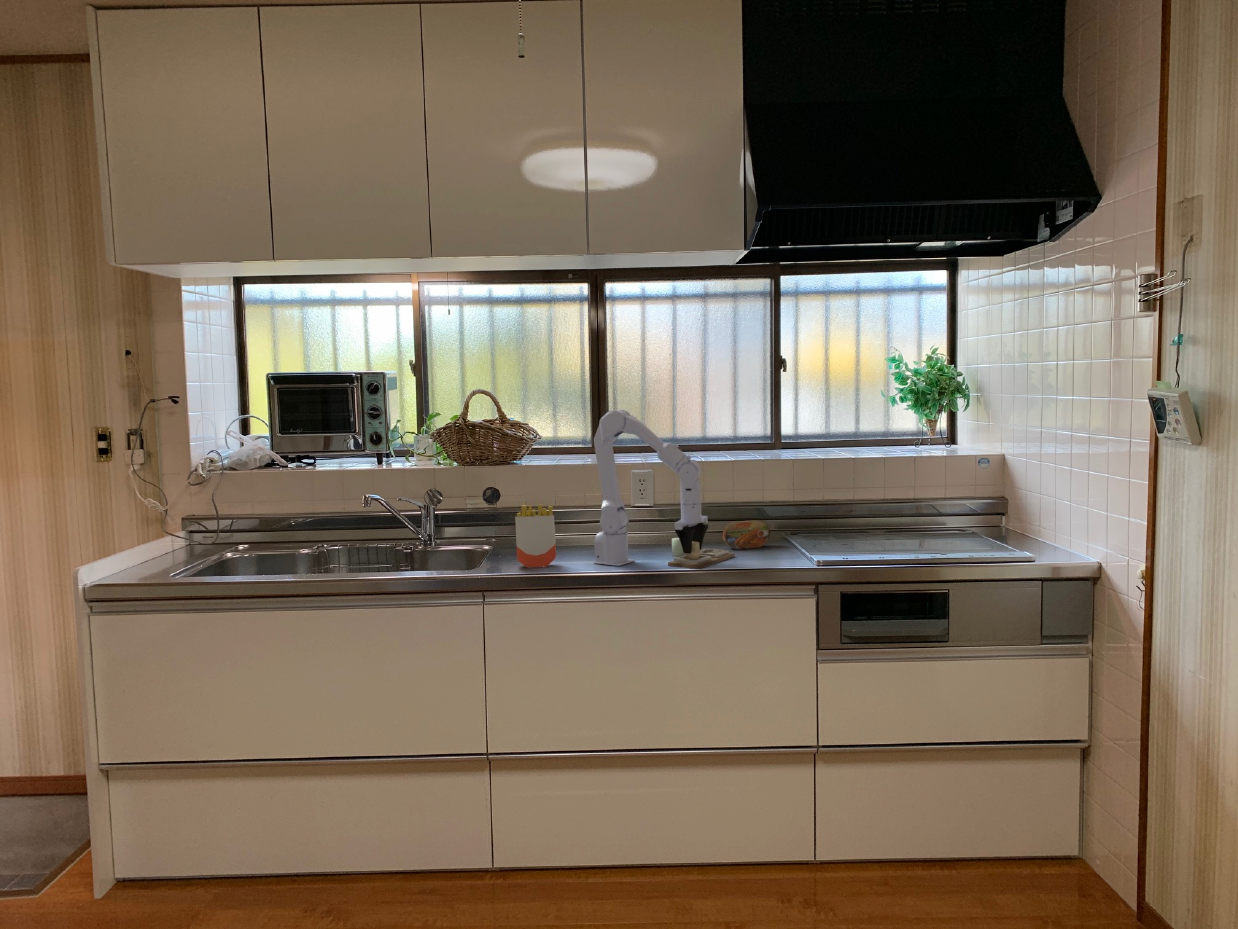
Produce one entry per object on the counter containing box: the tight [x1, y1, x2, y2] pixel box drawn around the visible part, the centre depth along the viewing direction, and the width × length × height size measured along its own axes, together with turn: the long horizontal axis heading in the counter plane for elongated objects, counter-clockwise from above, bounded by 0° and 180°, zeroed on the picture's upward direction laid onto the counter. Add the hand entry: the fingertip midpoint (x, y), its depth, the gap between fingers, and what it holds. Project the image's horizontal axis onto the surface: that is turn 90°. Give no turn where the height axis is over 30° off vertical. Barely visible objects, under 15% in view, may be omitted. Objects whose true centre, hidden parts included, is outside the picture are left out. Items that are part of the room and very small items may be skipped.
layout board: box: [667, 548, 735, 570], centre depth 239 cm, size 10×20×2 cm, turn 143°
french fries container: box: [514, 504, 557, 568], centre depth 240 cm, size 5×11×18 cm, turn 90°
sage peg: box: [671, 537, 685, 558], centre depth 249 cm, size 4×4×5 cm
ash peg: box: [685, 542, 700, 560], centre depth 234 cm, size 4×4×5 cm
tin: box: [722, 519, 771, 550], centre depth 258 cm, size 15×3×8 cm, turn 105°
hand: (692, 551), depth 234 cm, fingers open, 5 cm apart
